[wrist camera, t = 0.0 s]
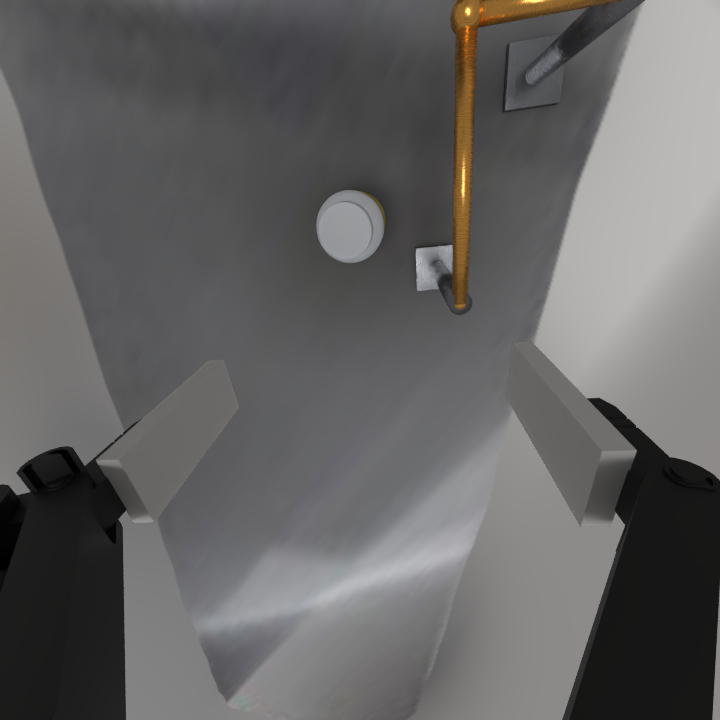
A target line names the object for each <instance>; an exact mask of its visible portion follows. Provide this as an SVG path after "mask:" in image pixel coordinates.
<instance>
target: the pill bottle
mask: <svg viewBox="0 0 720 720" xmlns="http://www.w3.org/2000/svg"><path fill="white" fill-rule="evenodd" d="M385 225H386V218H385V213H384V210H383V208H382V206H381V204H380V203H379V201H378V200H377V199H376V198H375V197H374V196H372V195H370V194H369V193H366V192H363V191H356V190H344V191H340V192H337V193H335V194H334V195H332V196H330V197H329V198H328V199H327V200H326V201H325V202H324V204H323V205H322V207H321V209H320V211H319V213H318V217H317V223H316V229H317V235H318V239H319V241H320V243H321V245H322V247H323V249H324V250H325V251H326V252H327V253H328V254H329V255H330V256H331V257H333V258H334V259H336V260H338V261H341V262H345V263H356V262H360V261H363V260H365V259H367V258H368V257H370V256H371V255H372V254H373V253H374V252H375V251H376V250H377V248H378V247H379V245H380V243H381V241H382V238H383V235H384V231H385Z"/></svg>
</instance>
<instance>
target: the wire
mask: <svg viewBox="0 0 720 720" xmlns="http://www.w3.org/2000/svg"><path fill="white" fill-rule="evenodd" d="M643 1H645V0H456V2H455V4H454V6H453V8H452V12H451V18H450V21H451V27H452V30H453V32H454V33H455V34H456V41H455V112H454V183H453V244H448V245H438V246H428V247H418V248H415V254H416V283H417V291H422V290H433V289H440V291H441V293H442V295H443V297H444V299H445V301H446V303H447V305H448V307H449V309H450V310H451V312H452V313H454V314H456V315H462V314H465V313H467V312H468V311H469V310H470V309H471V307H472V299H471V297H470V296H469V294H468V273H469V245H470V217H471V189H472V161H473V133H474V105H475V77H476V49H477V28H479V27H484V26H490V25H495V24H501V23H506V22H511V21H517V20H522V19H528V18H533V17H538V16H544V15H549V14H555V13H560V12H566V11H571V10H576V9H582V8H587V7H589V8H587V9H586V10H585V11H584V12H583V13H582V14H581V15H580V16H579V17H578V18H577V19H576V20H575V21H574V22H573V23H572V24H571V25H570V26H569V27H568V28H567V29H566V30H565V31H564V32H563V33H562V34H556V35H550V36H545V37H539V38H533V39H528V40H522V41H516V42H511V43H509V44H508V46H507V53H506V68H505V83H504V98H503V112H509V111H516V110H522V109H529V108H536V107H542V106H549V105H555V104H558V103H559V102H560V98H561V90H562V83H563V75H564V67H565V63H566V62H567V61H568V60H569V59H571V58H572V57H573V56H575V55H576V54H577V53H578V52H580V51H581V50H582V49H583V48H585V47H586V46H587V45H589V44H590V43H591V42H592V41H594V40H595V39H596V38H598V37H599V36H600V35H601V34H603V33H604V32H605V31H606V30H608V29H609V28H610V27H612V26H613V25H614V24H615V23H617V22H618V21H619V20H620V19H622V18H623V17H624V16H626V15H627V14H628V13H629V12H631V11H632V10H633V9H634V8H636V7H637V6H638V5H640V4H641V3H642V2H643Z"/></svg>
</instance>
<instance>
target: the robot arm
mask: <svg viewBox="0 0 720 720" xmlns="http://www.w3.org/2000/svg"><path fill="white" fill-rule="evenodd" d="M506 397H507V399H508V401H509V403H510V404H511V406H512V408H513V410H514V411H515V413H516V415H517V417H518V418H519V420H520V422H521V424H522V425H523V427H524V429H525V431H526V432H527V434H528V436H529V438H530V439H531V441H532V443H533V445H534V446H535V448H536V450H537V451H538V453H539V455H540V457H541V458H542V460H543V462H544V464H545V466H546V467H547V469H548V471H549V473H550V474H551V476H552V478H553V479H554V481H555V483H556V485H557V487H558V488H559V490H560V492H561V494H562V495H563V497H564V499H565V500H566V502H567V504H568V506H569V508H570V509H571V511H572V513H573V514H574V516H575V518H576V520H577V521H578V523H579V525H580V527H611V524H612V521H613V518H614V515H615V512H616V513H617V514H618V516H619V517H620V518H621V520H622V521H623V523H624V524H625V528H624V530H623V533H622V536H621V538H620V542H619V544H618V547H617V549H616V555H615V558H614V561H613V564H612V567H611V570H610V573H609V577H608V580H607V583H606V586H605V589H604V592H603V595H602V598H601V602H600V604H599V608H598V611H597V614H596V617H595V620H594V624H593V626H592V630H591V633H590V636H589V639H588V642H587V645H586V648H585V651H584V654H583V657H582V660H581V663H580V667H579V670H578V673H577V676H576V679H575V682H574V686H573V689H572V692H571V695H570V698H569V701H568V704H567V707H566V710H565V714H564V716H563V719H562V720H712V713H713V696H714V678H715V659H716V643H717V624H718V606H719V588H720V480H719V479H717V478H716V476H715V475H713V474H712V473H710V472H709V471H707V470H705V469H704V468H702V467H700V466H698V465H696V464H693V463H691V462H688V461H685V460H681V459H677V458H670V457H669V456H668V455H667V454H666V453H664V451H663V450H661V449H660V448H659V447H658V446H657V445H656V444H655V443H654V442H653V441H652V440H651V439H650V438H649V437H648V436H646V435H645V434H644V433H643V432H642V431H641V430H640V429H639V428H636V425H635V424H634V423H633V422H632V421H630V420H629V419H627V417H626V416H625V415H624V414H623V413H622V412H621V411H620V410H619V409H618V408H617V407H615V406H613V405H611V404H610V403H608V402H606V401H604V400H602V399H600V398H591V399H590V398H588V399H587V398H586V397H585V396H584V395H583V394H582V393H581V392H580V391H579V390H578V389H577V388H576V387H575V386H574V385H573V384H572V383H571V382H570V381H569V380H568V379H567V378H566V377H565V376H564V375H563V374H562V373H561V371H560V370H558V368H557V367H556V366H555V365H554V364H553V363H552V362H551V361H550V360H549V359H548V358H547V357H546V356H545V355H544V354H543V353H542V352H541V351H540V350H539V349H538V348H537V347H536V346H535V345H534V344H533V343H532V342H531V341H529V342H512V349H511V359H510V368H509V377H508V386H507V396H506ZM238 408H239V406H238V403H237V400H236V397H235V393H234V390H233V387H232V384H231V381H230V378H229V375H228V372H227V369H226V366H225V363H224V360H209V361H207V362H206V363H205V364H204V365H203V366H202V367H201V368H199V369H198V370H197V371H196V372H195V373H194V374H193V375H192V376H190V377H189V378H188V379H187V380H186V381H185V382H184V383H182V384H181V385H180V386H179V387H178V388H177V389H176V390H175V391H173V392H172V393H171V394H170V395H169V396H168V397H167V398H165V399H164V400H163V401H162V402H161V403H160V404H159V405H157V406H156V407H155V408H154V409H153V410H152V411H151V412H150V413H148V414H147V415H146V416H145V417H144V418H143V419H141V420H139V421H138V422H136V423H134V424H133V425H132V426H131V427H129V428H128V429H127V430H126V431H125V432H124V433H123V435H120V436H119V437H118V438H117V439H116V440H115V442H112V443H111V444H110V445H109V446H108V447H106V448H105V449H104V450H103V451H102V452H101V453H100V454H99V455H97V456H96V457H95V458H94V459H93V460H92V461H90V462H89V463H88V464H87V465H86V466H84V465H83V463H82V462H81V460H80V459H79V457H78V455H77V454H76V452H75V451H74V449H73V448H72V447H68V446H66V447H59V448H55V449H52V450H49V451H46V452H44V453H42V454H40V455H38V456H36V457H34V458H33V459H31V460H29V461H28V462H26V463H25V464H24V465H23V466H21V467H20V469H19V470H18V472H17V474H18V476H19V477H20V478H21V479H22V481H23V482H24V483H25V485H26V486H27V487H28V489H29V490H30V491H31V492H29V493H26V494H21V495H16V494H15V493H14V492H13V490H12V489H11V488H10V487H9V486H8V485H3V484H2V485H0V720H126V703H125V702H126V700H125V698H126V697H125V647H124V645H125V639H124V586H123V585H124V583H123V582H124V581H123V530H122V529H123V527H122V525H121V523H120V521H119V520H118V519H119V518H120V516H121V515H122V514H123V513H124V512H125V511H127V512H128V514H129V516H130V517H131V519H132V521H133V522H136V523H154V522H155V521H156V520H157V519H158V517H159V516H160V515H161V513H162V512H163V510H164V509H165V508H166V506H167V505H168V504H169V502H170V501H171V500H172V498H173V497H174V495H175V494H176V493H177V491H178V490H179V489H180V487H181V486H182V485H183V483H184V482H185V480H186V479H187V478H188V476H189V475H190V474H191V472H192V471H193V470H194V468H195V467H196V465H197V464H198V463H199V461H200V460H201V459H202V457H203V456H204V455H205V453H206V452H207V450H208V449H209V448H210V446H211V445H212V444H213V442H214V441H215V440H216V438H217V437H218V436H219V434H220V433H221V431H222V430H223V429H224V427H225V426H226V425H227V423H228V422H229V421H230V419H231V418H232V416H233V415H234V414H235V412H236V411H237V410H238Z"/></svg>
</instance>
